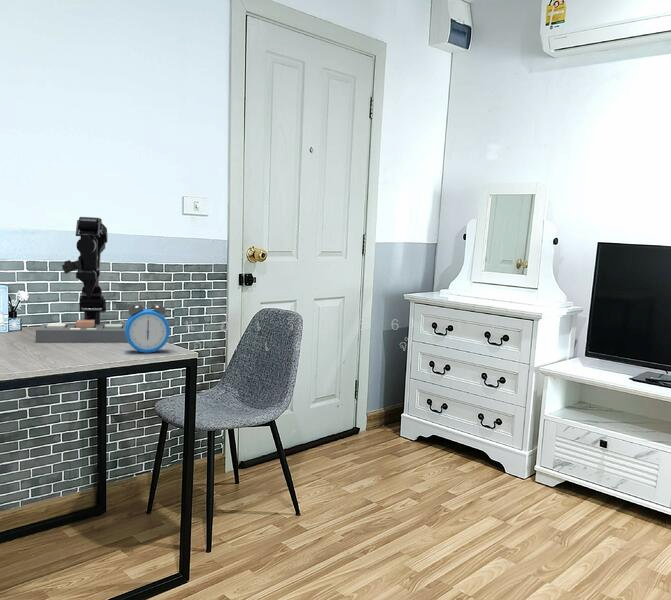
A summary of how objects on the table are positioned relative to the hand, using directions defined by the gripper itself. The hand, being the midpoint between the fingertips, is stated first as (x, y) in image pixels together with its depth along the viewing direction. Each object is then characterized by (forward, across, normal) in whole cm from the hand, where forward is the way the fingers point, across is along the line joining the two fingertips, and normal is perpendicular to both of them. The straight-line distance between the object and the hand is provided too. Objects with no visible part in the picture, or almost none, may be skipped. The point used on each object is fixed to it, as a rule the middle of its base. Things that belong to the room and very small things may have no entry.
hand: (88, 297), depth 218 cm
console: (+13, +10, 0) cm, 17 cm away
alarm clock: (+13, +33, +20) cm, 41 cm away
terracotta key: (+10, +9, 0) cm, 14 cm away
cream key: (+12, +9, -9) cm, 17 cm away
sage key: (+12, +9, +9) cm, 17 cm away
